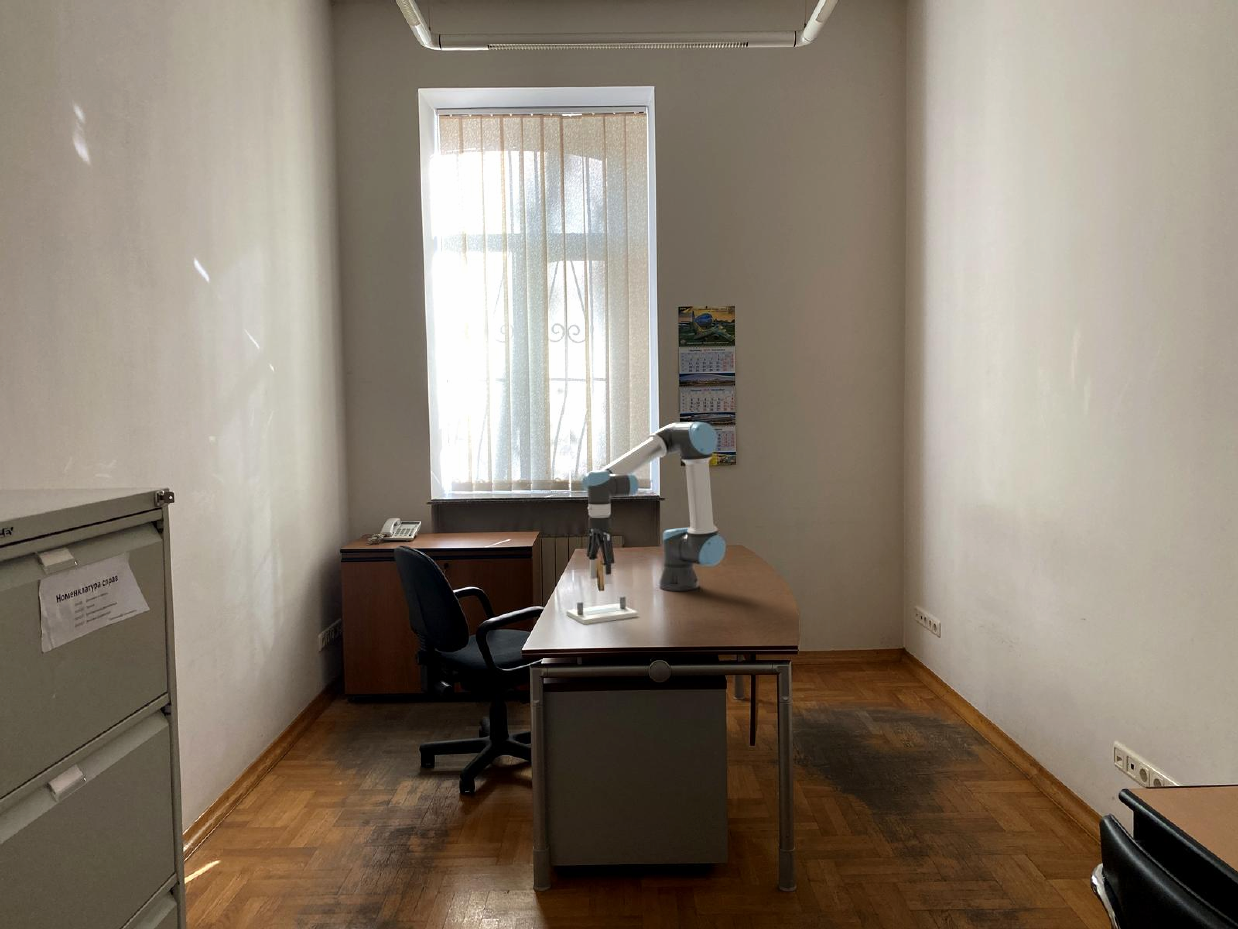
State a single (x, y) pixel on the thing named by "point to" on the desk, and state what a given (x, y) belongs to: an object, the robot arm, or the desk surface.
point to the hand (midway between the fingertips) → (600, 581)
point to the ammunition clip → (600, 573)
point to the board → (602, 612)
